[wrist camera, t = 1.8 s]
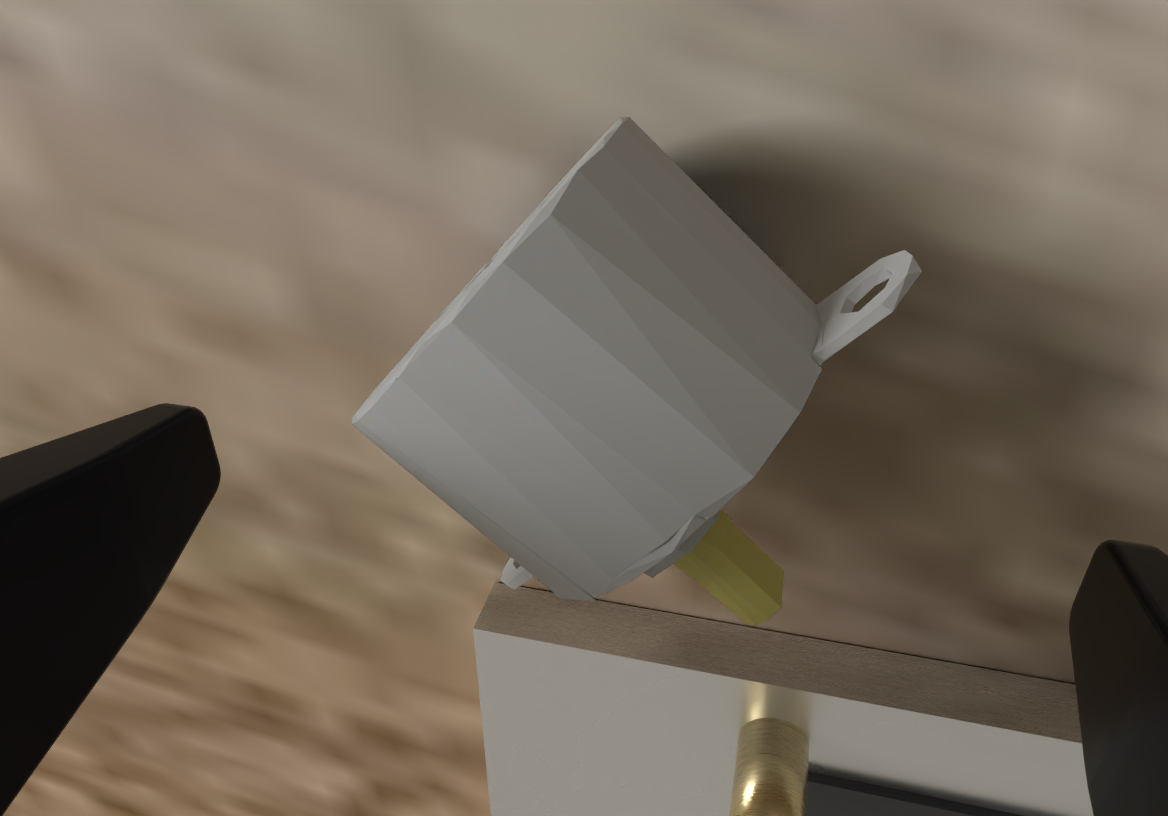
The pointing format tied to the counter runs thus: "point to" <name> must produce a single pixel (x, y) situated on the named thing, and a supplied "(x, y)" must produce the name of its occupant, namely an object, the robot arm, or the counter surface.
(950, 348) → the counter surface
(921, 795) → the chassis plate
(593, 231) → the electric motor
